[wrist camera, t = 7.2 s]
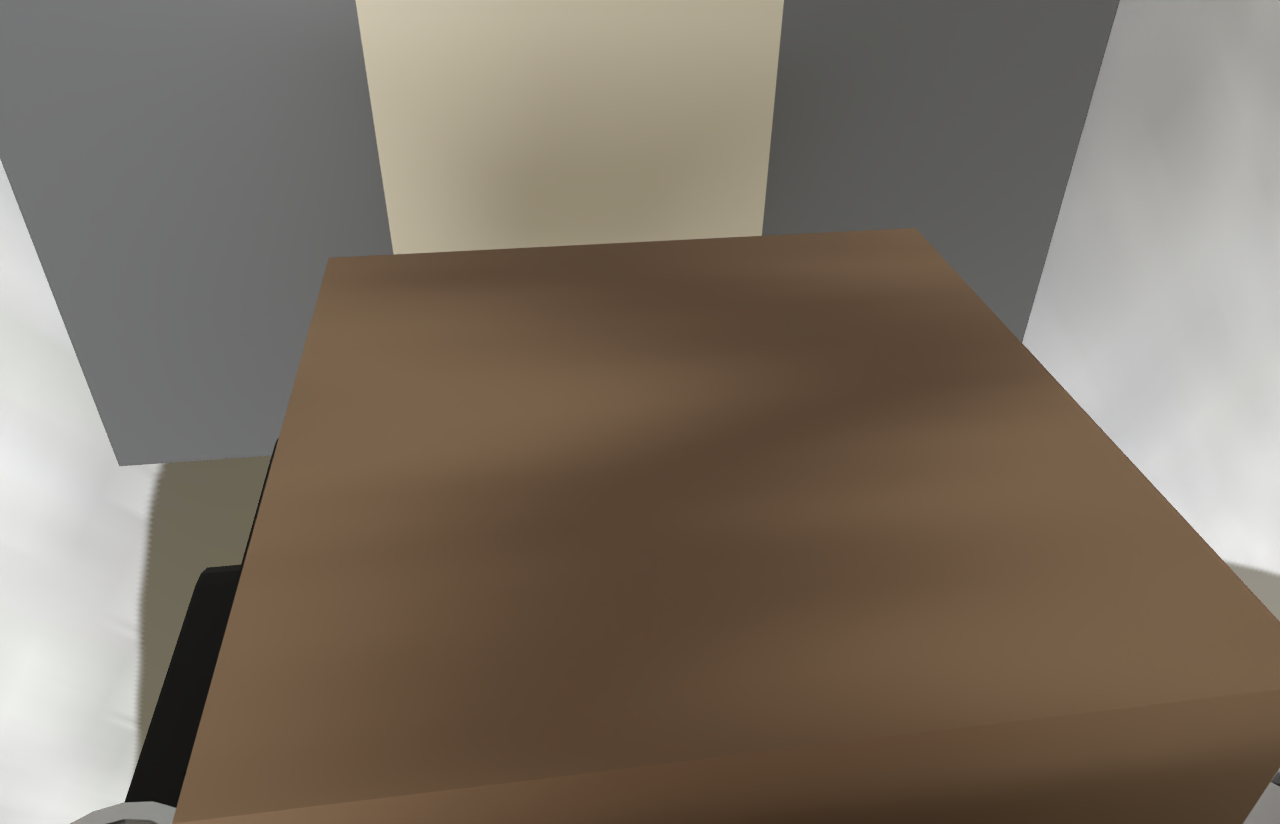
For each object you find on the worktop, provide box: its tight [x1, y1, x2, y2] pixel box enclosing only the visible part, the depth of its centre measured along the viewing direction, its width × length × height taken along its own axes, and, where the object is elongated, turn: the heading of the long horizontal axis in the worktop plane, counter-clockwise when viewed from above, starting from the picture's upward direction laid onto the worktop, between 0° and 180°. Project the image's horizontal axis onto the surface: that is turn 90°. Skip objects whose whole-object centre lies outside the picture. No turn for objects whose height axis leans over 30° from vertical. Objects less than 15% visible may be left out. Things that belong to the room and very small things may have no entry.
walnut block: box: [172, 228, 1280, 824], centre depth 9 cm, size 6×6×6 cm
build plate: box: [0, 0, 1120, 466], centre depth 20 cm, size 22×14×2 cm, turn 89°
